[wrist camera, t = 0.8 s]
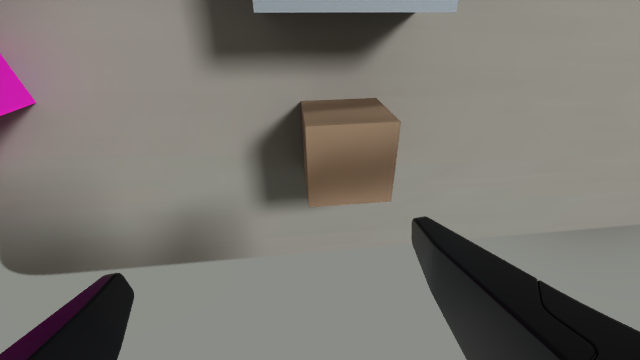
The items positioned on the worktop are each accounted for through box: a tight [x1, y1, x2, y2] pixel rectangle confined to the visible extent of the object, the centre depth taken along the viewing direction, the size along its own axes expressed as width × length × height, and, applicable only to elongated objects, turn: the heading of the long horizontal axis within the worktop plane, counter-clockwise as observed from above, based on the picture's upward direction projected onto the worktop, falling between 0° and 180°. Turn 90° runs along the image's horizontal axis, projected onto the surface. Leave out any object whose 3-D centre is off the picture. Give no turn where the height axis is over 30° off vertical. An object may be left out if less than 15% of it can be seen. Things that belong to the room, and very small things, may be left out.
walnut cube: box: [301, 98, 401, 207], centre depth 19 cm, size 5×5×5 cm
